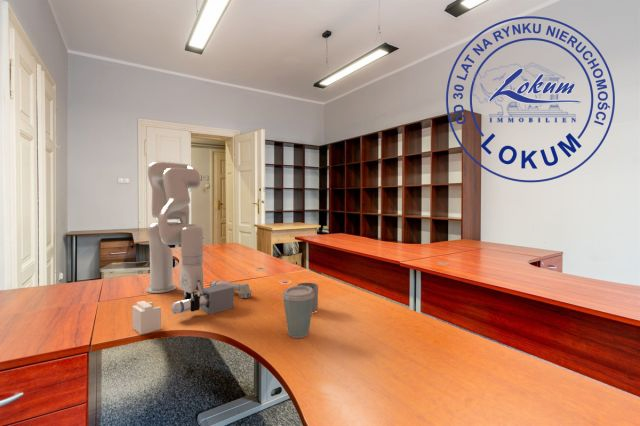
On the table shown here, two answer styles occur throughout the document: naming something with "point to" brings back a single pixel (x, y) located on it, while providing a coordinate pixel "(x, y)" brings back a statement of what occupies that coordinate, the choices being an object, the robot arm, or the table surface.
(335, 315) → the table surface
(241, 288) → the grey stepped bar
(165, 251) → the robot arm
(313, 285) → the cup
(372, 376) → the table surface
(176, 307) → the tube
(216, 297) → the grey rectangular box
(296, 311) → the disposable coffee cup
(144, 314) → the socket
